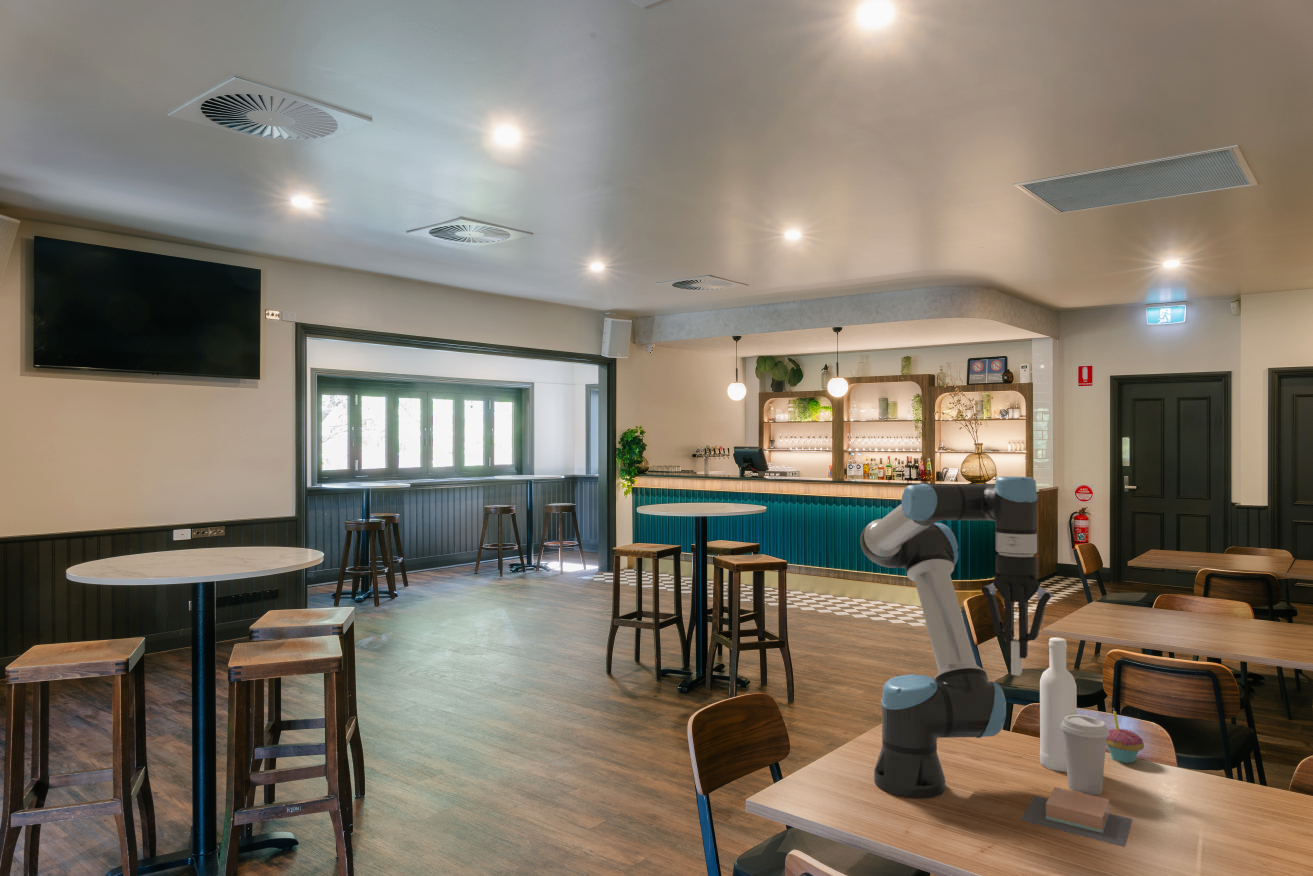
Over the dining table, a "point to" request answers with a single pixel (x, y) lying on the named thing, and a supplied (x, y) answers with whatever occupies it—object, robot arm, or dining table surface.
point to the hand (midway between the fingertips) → (1016, 673)
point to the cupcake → (1123, 743)
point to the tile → (1078, 809)
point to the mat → (1112, 833)
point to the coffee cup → (1084, 752)
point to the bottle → (1055, 706)
